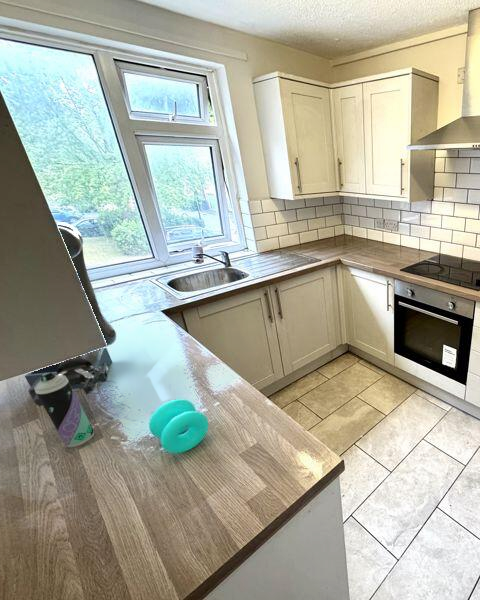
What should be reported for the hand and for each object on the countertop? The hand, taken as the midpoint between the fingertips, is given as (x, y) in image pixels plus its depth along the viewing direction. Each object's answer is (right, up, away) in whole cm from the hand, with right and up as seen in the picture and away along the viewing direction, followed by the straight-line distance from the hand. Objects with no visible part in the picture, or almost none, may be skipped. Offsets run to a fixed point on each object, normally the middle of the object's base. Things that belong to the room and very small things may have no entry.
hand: (63, 396), depth 79 cm
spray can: (+1, -12, +3) cm, 12 cm away
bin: (-23, -1, +26) cm, 35 cm away
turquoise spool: (+27, -12, +3) cm, 30 cm away
